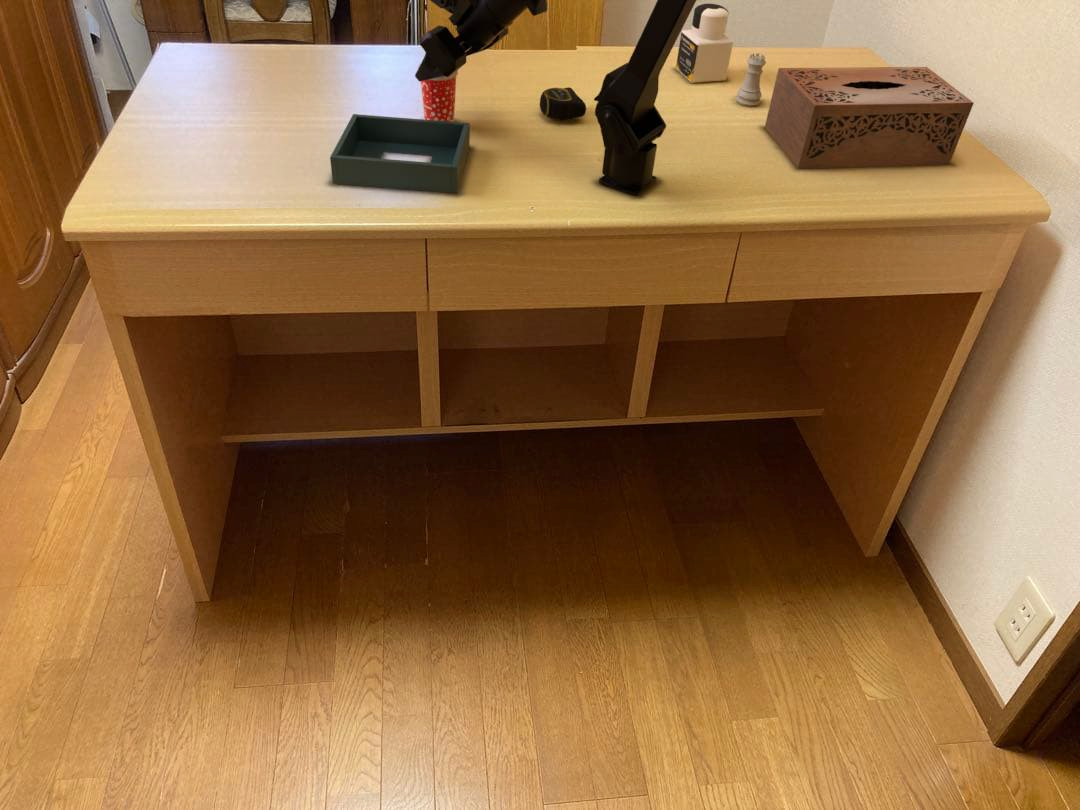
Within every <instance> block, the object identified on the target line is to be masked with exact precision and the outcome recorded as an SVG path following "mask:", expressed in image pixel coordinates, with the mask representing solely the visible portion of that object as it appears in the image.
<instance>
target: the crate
mask: <svg viewBox="0 0 1080 810" xmlns="http://www.w3.org/2000/svg"><path fill="white" fill-rule="evenodd" d="M470 128H471V123H470V122H461V121H454V122H449V121H436V120H424V119H422V118H410V117H398V116H397V117H396V116H382V115H369V114H358V113H353V114H352V116H351V117H350V119H349V121H348V123H347V124H346V127H345V128H344V131H343V132H342V134H341V135H340V138H339V140H338V142H337V143H336V145H335V147H334V149H333V151H332V153H331V155H330V156H329V160H330V169H331V179H332V184H333V185H343V186H344V185H345V186H356V187H357V186H359V187H370V188H381V189H383V188H384V189H396V190H406V191H407V190H410V191H422V192H435V193H444V194H445V193H446V194H449V193H450V194H458V192H459V188H460V184H461V182H462V178H463V174H464V170H465V167H466V163H467V158H468V156H469V151H470V147H471V145H470V143H471V142H470V141H471V140H470V139H471V136H470V131H471V129H470ZM384 153H394V154H409V155H420V156H421V155H422V156H432V157H431V160H430V162H428V161H416V160H415V161H414V160H401V159H390V158H382V157H383V154H384Z"/></svg>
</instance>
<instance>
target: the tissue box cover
mask: <svg viewBox="0 0 1080 810" xmlns="http://www.w3.org/2000/svg"><path fill="white" fill-rule="evenodd" d="M772 90H773V91H772V95H771V99H770V103H769V107H768V112H767V116H766V120H765V123H764V124H765V125H764V130H765V131H766V133H768V134H769V136H770V137H771V138H772V140H773V141H774V142H775V143H776V144H777V146H778V147H779V148H780V149H781V151H783V153H784V154H785V155H786V156H787V158H788V159H789V160H790V161H791V163H792V164H793V165H794V166H795V168H797V169H799V170H800V169H831V168H833V169H834V168H836V169H837V168H866V167H867V168H868V167H871V168H872V167H900V166H903V167H904V166H939V165H950V164H951V162H952V159H953V157H954V154H955V152H956V149H957V146H958V144H959V142H960V140H961V136H962V134H963V131H964V129H965V126H966V124H967V121H968V118H969V116H970V114H971V111H972V108H973V106H974V104H975V102H974V101H972V100H971V99H969V98H968V97H967V96H965V94H963V93H961V92H960V91H959V90H958V89H957V88H955V87H954V86H952V84H950V83H949V82H947V81H946V80H945V79H944V78H942V76H940V75H938V74H937V73H936V72H935V71H933V70H932V69H930V68H929V67H928V66H888V67H887V66H870V67H869V66H868V67H865V66H863V67H861V66H860V67H856V66H855V67H778V69H777V73H776V78H775V82H774V85H773V89H772Z"/></svg>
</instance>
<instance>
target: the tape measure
mask: <svg viewBox="0 0 1080 810" xmlns="http://www.w3.org/2000/svg"><path fill="white" fill-rule="evenodd" d="M539 109H540V112H541V113H542V114H543V115H544V116H545V117H547V118H549V119H552V120H553V121H555V120H557V121H568V120H569V121H570V120H573V119H578V118H579V119H580V118H582V117H584V116H585V115H586V112H587V105H586V103H585V101H584V100H583V99H582V98H581V97H580V96H578V94H577V93H576V92H575V90H574V89H573V88H571V87H569V86H567V87H564V88H563V87H550V88H547V89H544V91H542V93H541V95H540V98H539Z"/></svg>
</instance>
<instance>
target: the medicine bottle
mask: <svg viewBox="0 0 1080 810" xmlns="http://www.w3.org/2000/svg"><path fill="white" fill-rule="evenodd" d="M729 14H730V12H729V10H728V9H727V8H725V7H724V6H722V5H720V4H717V3H701V4H699V5H696V7H694V11H693V17H692V21H691V22H692V23H691V29H682V30H681V32H680V38H679V45H678V52H677V58H676V65H675V69H676V70H677V71H678V72H679V73H680V74H681V75H682V76H683V77H685V78H686V79H687V80H688V81H689V82H690V83H691V84H694V83H708V82H709V83H710V82H721V81H726V80H727V77H728V76H727V75H728V70H729V66H730V60H731V57H732V56H731V55H732V50H733V46H734V41H733V40H732V39H730V37H728V36H727V35H726V30H727V25H728V19H729Z"/></svg>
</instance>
